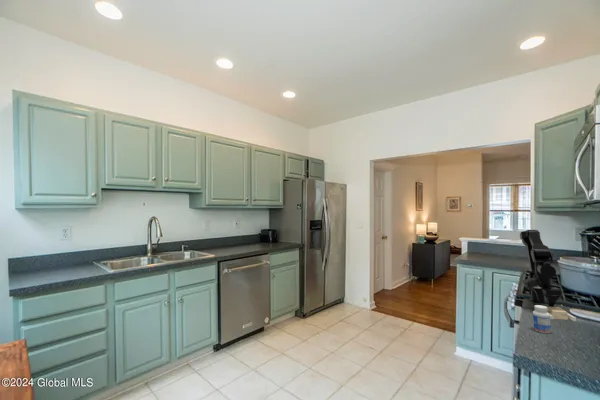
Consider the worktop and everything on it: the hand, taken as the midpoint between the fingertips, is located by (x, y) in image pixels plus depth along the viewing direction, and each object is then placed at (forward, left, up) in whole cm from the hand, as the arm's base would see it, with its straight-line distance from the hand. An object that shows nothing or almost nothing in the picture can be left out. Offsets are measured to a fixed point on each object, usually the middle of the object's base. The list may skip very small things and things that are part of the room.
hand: (545, 305), depth 137 cm
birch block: (+9, 0, -2) cm, 10 cm away
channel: (+8, 0, -2) cm, 9 cm away
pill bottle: (+29, -14, -2) cm, 33 cm away
